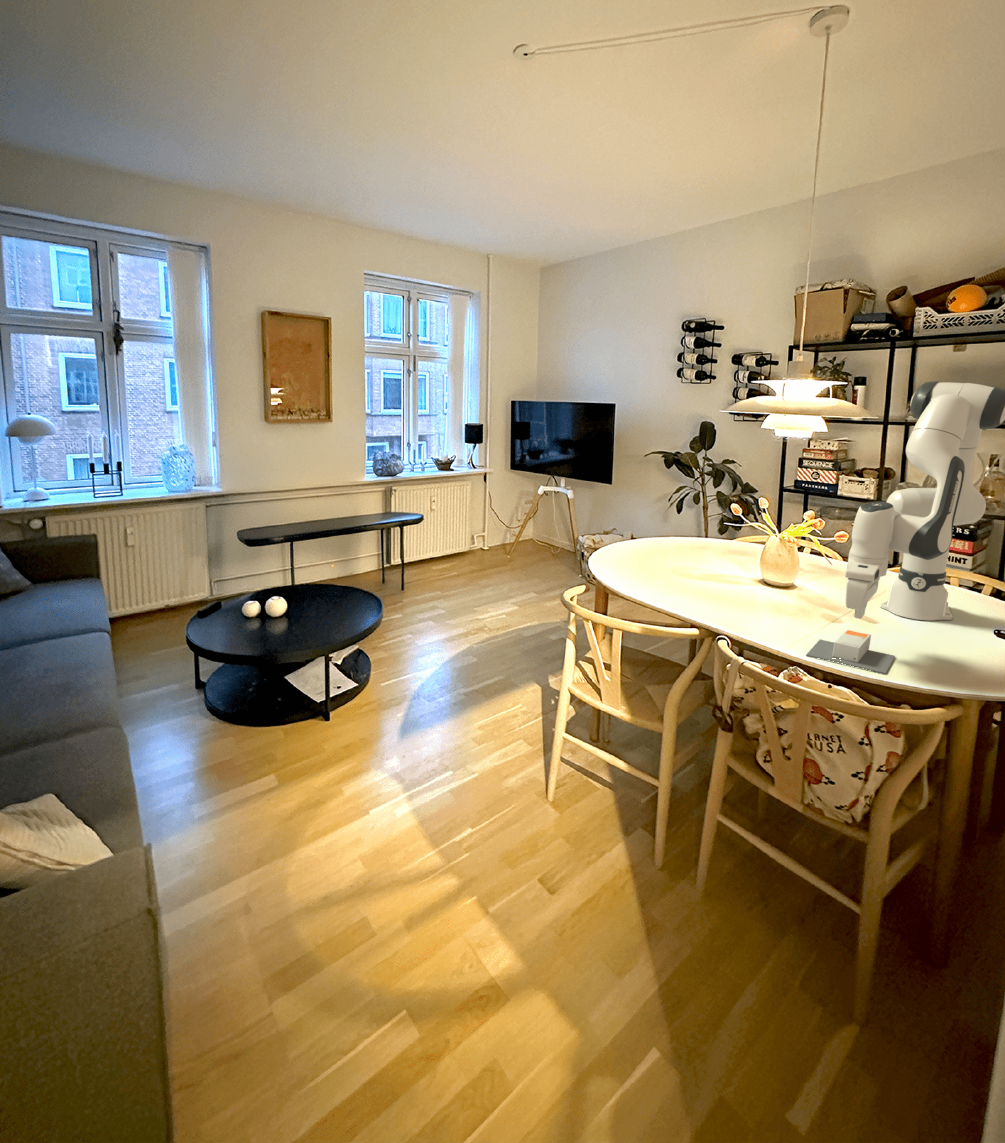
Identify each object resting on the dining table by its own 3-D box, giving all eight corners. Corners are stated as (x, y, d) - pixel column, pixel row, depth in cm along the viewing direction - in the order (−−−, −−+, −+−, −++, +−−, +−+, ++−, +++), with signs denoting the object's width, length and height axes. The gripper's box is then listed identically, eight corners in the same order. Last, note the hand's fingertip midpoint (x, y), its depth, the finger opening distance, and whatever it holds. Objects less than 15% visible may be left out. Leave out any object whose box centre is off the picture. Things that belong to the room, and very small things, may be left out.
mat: (819, 640, 172) (819, 639, 172) (894, 657, 161) (895, 655, 160) (806, 656, 162) (806, 654, 162) (885, 674, 151) (885, 673, 151)
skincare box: (871, 633, 164) (860, 647, 155) (869, 648, 165) (858, 663, 156) (846, 628, 168) (834, 642, 159) (844, 643, 169) (831, 657, 160)
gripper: (861, 556, 168) (854, 604, 171) (844, 572, 153) (836, 624, 156) (888, 559, 164) (880, 609, 167) (873, 576, 149) (864, 630, 152)
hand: (859, 616), depth 162 cm, fingers closed
